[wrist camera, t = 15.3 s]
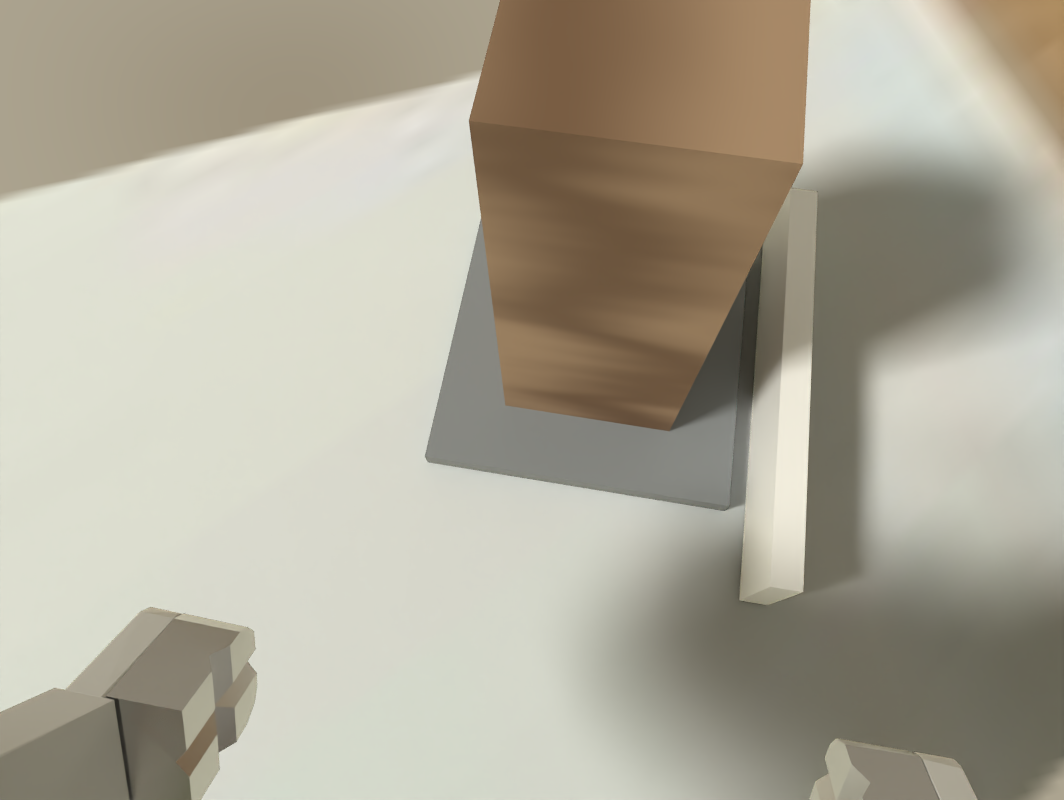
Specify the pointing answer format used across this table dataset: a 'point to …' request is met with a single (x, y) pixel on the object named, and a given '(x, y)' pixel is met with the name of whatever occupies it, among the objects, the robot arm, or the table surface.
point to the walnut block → (630, 188)
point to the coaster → (584, 419)
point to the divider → (781, 408)
